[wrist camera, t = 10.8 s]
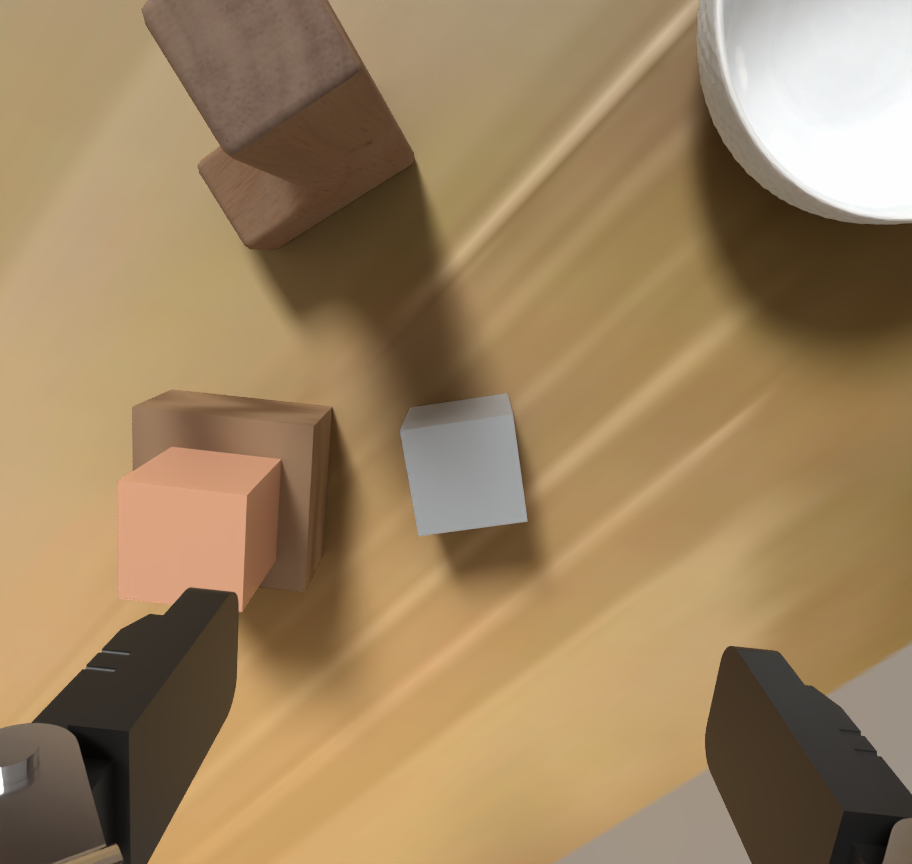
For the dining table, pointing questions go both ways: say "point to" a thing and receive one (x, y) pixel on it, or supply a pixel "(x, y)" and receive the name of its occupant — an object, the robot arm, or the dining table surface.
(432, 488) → the slate cube
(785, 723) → the robot arm
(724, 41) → the cereal bowl
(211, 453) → the terracotta cube
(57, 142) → the dining table surface
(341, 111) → the wooden block
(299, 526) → the walnut base block
